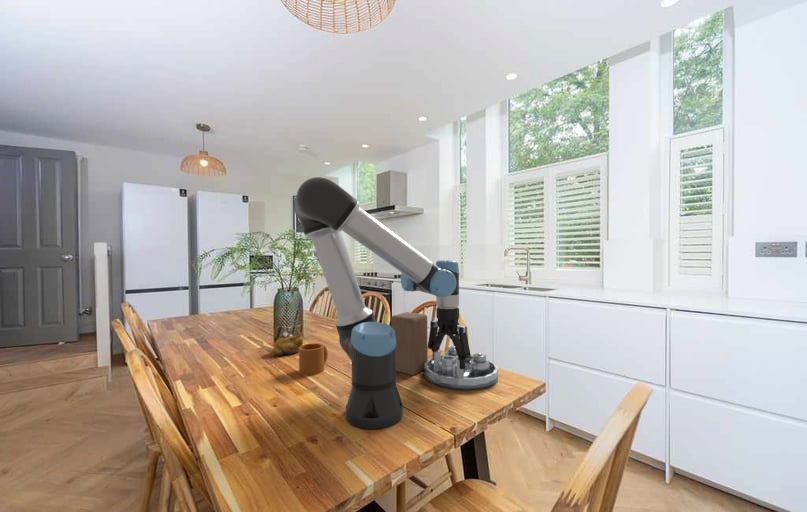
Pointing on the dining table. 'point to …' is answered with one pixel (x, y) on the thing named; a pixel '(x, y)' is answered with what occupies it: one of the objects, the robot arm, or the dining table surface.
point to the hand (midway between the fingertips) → (448, 374)
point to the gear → (448, 366)
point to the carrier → (465, 373)
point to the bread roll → (287, 345)
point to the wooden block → (410, 342)
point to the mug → (312, 358)
